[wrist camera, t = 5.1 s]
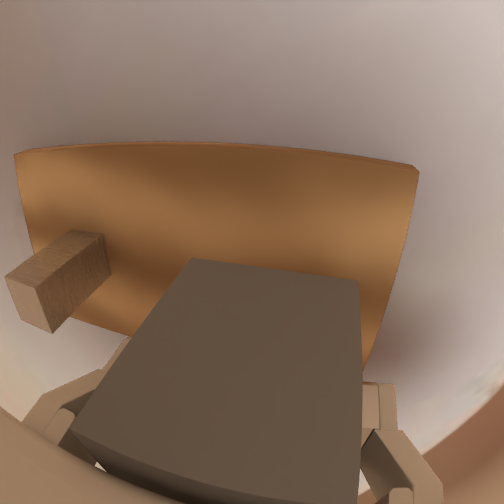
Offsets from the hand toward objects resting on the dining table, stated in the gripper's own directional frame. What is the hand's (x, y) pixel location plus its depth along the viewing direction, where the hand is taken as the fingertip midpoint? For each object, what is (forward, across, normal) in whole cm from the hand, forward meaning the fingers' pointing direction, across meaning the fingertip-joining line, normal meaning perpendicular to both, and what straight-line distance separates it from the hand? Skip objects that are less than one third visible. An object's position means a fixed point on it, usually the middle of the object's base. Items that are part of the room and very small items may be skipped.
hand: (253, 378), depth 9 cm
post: (+6, +11, +1) cm, 13 cm away
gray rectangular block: (+2, 0, 0) cm, 2 cm away
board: (+7, +6, +1) cm, 10 cm away
